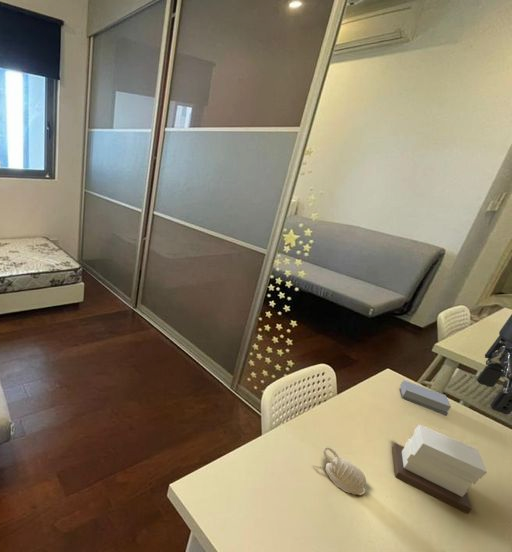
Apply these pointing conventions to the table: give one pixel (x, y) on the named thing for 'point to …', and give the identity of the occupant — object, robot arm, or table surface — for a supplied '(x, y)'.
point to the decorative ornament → (345, 474)
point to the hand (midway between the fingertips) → (490, 396)
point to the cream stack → (432, 475)
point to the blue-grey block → (425, 397)
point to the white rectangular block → (450, 451)
